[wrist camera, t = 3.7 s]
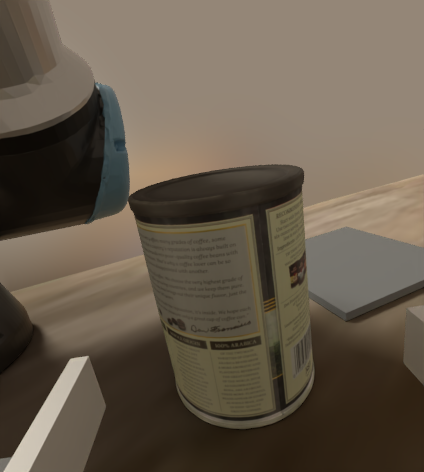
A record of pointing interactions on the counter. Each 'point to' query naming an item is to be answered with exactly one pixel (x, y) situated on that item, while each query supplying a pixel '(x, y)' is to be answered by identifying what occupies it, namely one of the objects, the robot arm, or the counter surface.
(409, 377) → the counter surface
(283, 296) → the coffee can
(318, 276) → the mat
